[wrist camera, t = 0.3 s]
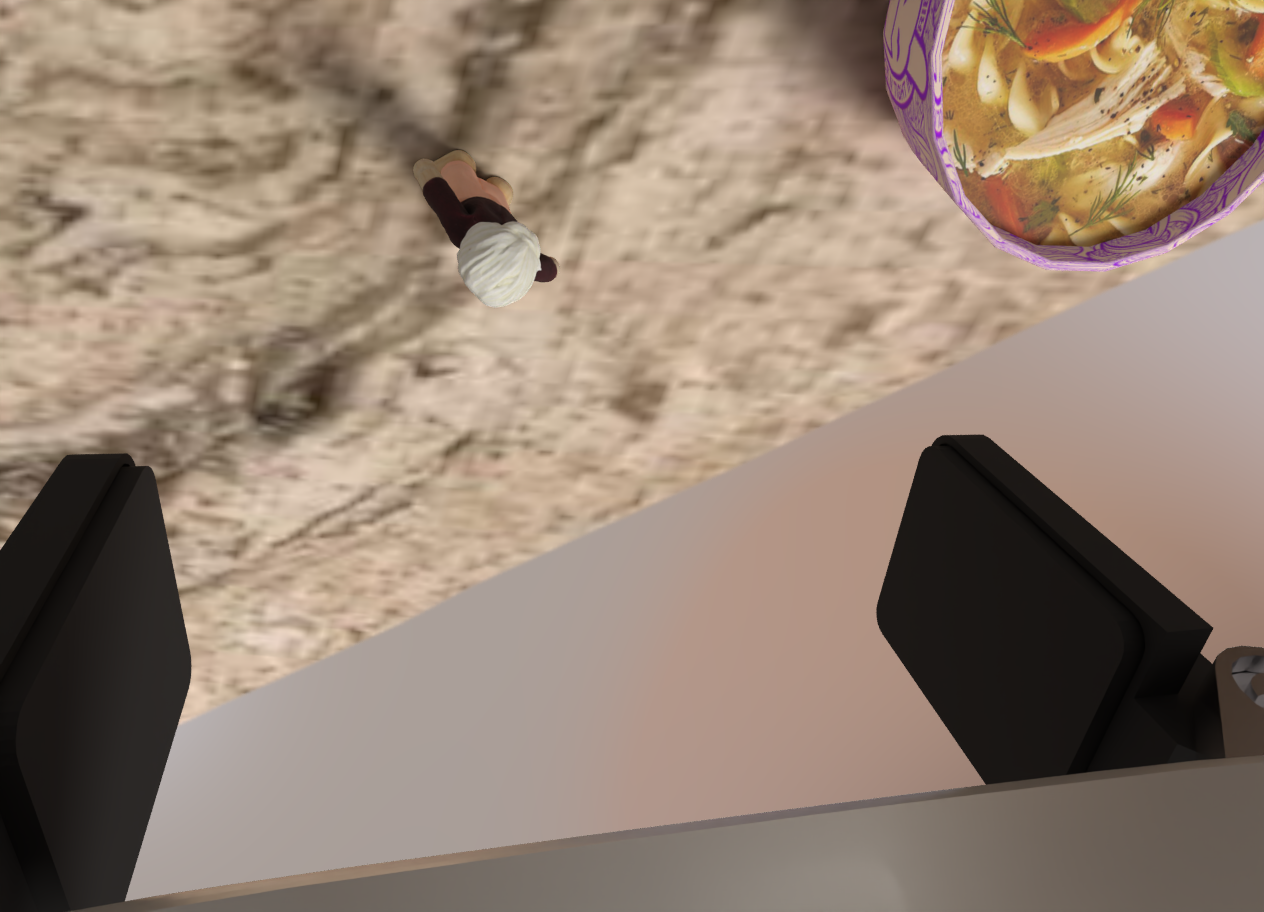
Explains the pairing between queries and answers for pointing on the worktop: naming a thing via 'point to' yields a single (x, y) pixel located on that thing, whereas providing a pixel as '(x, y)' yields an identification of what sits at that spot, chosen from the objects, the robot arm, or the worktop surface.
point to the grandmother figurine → (483, 230)
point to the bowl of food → (1083, 118)
